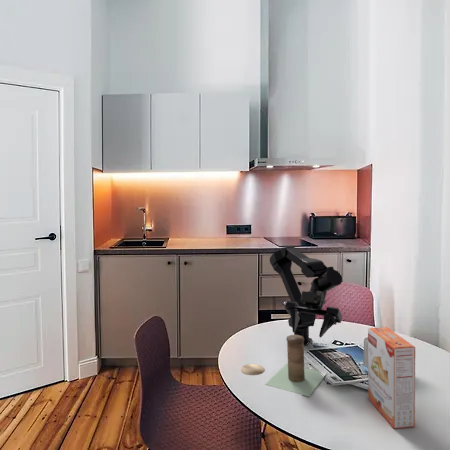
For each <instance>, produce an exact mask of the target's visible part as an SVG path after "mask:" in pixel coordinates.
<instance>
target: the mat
mask: <svg viewBox="0 0 450 450" xmlns="http://www.w3.org/2000/svg"><path fill="white" fill-rule="evenodd" d="M318 371H319V370H313V369H309V368H306V367H304V374H305V379H304V381H302V382H292V381H290V380H289V379H288V363H286V364H285V365H283V367H281V368H280V370H278V371H277V372H276V373H275V374H274V375H273V376H272V377H271V378H270V379H269V380H268V381H267V382H266V383H265V384H264V386H269V387H273V388H276V389H281V390H284V391H288V392H291V393H295V394H300V395H301V396H302V397H304V398H310V397H311V396H312V395H313V393H314V392H315V390H316V389H317V388H318V387H319V385H320V384H321V383H322V382H323V380H324V379H325V377H323V376H322V375H321V374H320V373H319V372H320V371H319V372H318Z"/></svg>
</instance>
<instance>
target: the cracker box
mask: <svg viewBox="0 0 450 450" xmlns="http://www.w3.org/2000/svg"><path fill="white" fill-rule="evenodd" d="M367 336H368V372H367V374H368V376H367V377H368V383H367V384H368V386H367V387H368V397H367V398H368V399H367V400H369V401H370V402H371V404H372V405H373V406H374V407H375V409H377V411H378V412H379V413H380V415H382V416H383V418H384V419H385V420H386V422H387V423H388V424H389V426H391V427H392V429H393V430H395V429H403V428H414V427H416V425H415V424H416V423H415V422H416V416H415V415H416V346H415V345H413V344H412V343H410V342H409V341H407V340H406V339H405V338H403V336H400V335H399V334H397V333H396V332H394V330H392V329H391V328H390V327H387V326H383V327H370V328H367Z"/></svg>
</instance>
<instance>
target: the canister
mask: <svg viewBox="0 0 450 450" xmlns="http://www.w3.org/2000/svg"><path fill="white" fill-rule="evenodd" d="M285 338H286V347H287V349H286V350H287V364H288V379H289V380H290V381H292V382H302V381H304V379H305V374H304V368H305V349H304V348H305V345H304V337H303V336H300V335H294V334H292V335H288V336H286V337H285Z"/></svg>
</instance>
